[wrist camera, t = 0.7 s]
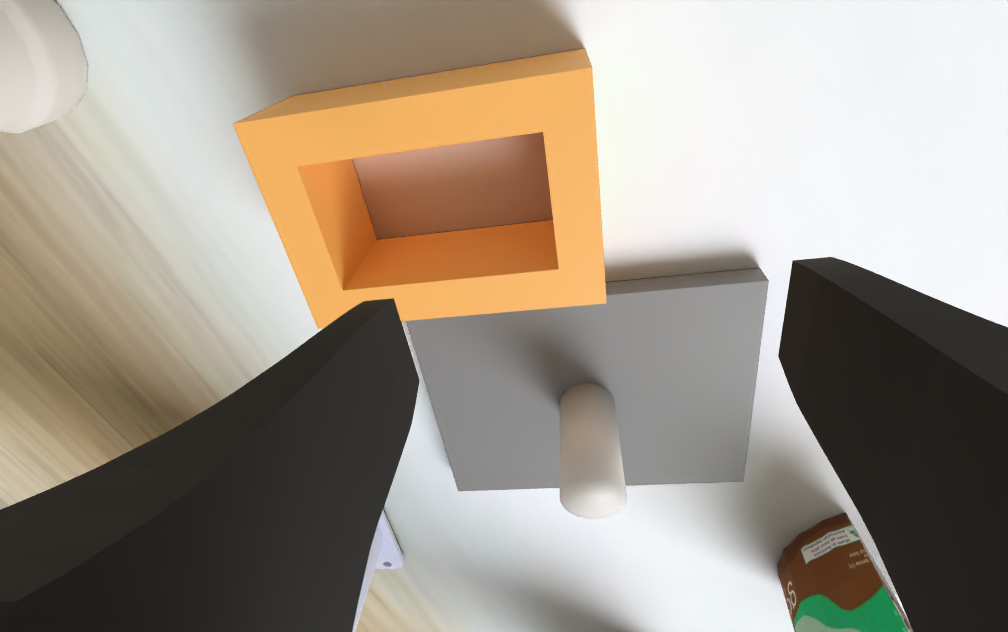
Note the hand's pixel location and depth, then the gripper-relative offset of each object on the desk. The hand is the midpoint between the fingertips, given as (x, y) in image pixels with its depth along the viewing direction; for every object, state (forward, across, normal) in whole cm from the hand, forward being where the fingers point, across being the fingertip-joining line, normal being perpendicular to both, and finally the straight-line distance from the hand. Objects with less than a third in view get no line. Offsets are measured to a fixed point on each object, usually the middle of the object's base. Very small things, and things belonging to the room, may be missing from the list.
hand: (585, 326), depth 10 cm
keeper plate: (+10, 0, +10) cm, 15 cm away
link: (+10, +4, 0) cm, 11 cm away
